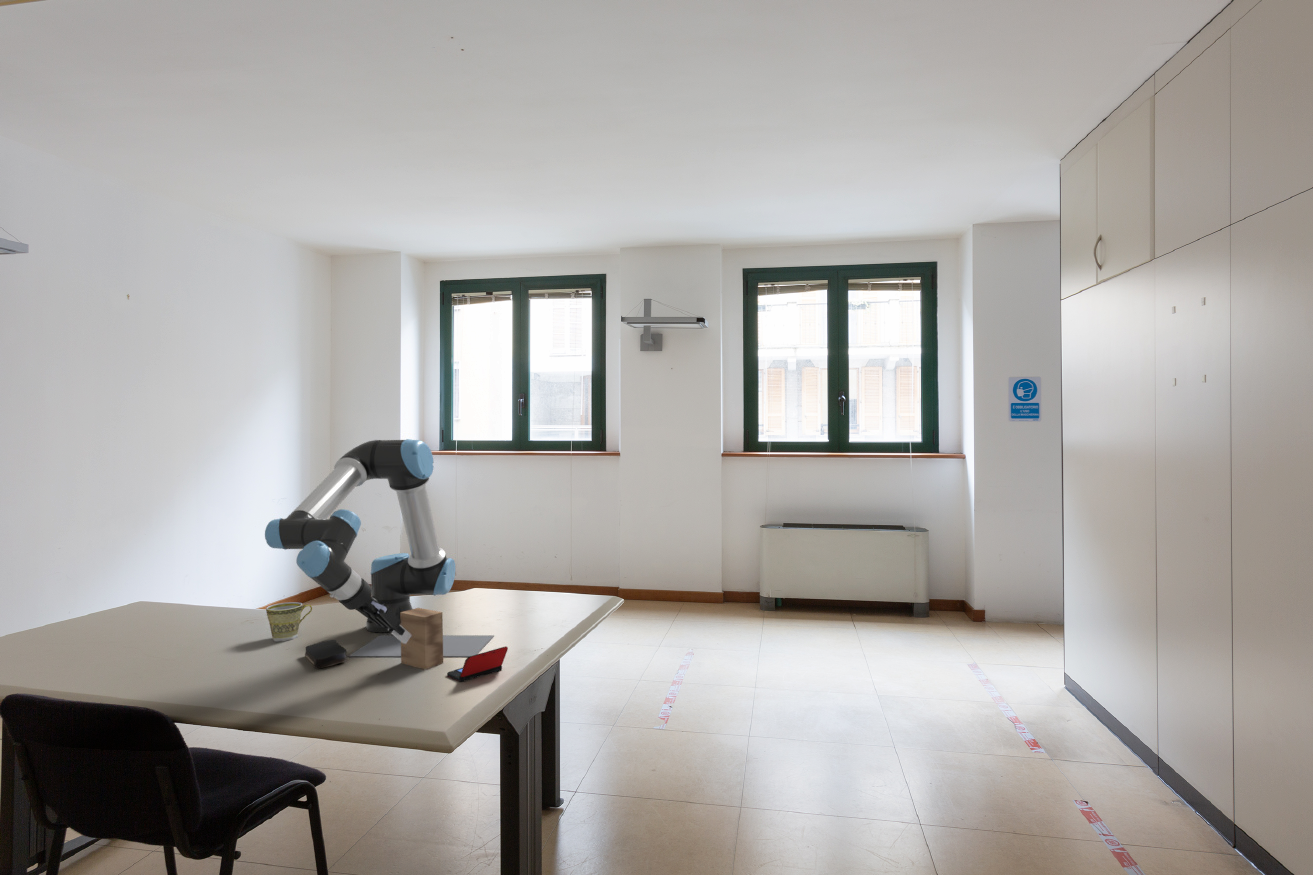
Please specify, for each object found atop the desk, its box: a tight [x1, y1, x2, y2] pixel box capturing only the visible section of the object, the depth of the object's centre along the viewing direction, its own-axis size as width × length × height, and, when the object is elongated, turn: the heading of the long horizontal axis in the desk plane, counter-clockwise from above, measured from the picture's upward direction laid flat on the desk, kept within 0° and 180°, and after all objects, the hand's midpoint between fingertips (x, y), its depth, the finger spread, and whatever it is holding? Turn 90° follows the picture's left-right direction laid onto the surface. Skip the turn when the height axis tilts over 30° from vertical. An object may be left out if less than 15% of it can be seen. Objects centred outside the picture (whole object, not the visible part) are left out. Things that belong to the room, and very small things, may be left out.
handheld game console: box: [446, 646, 509, 683], centre depth 188 cm, size 12×11×7 cm
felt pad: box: [348, 634, 495, 658], centre depth 213 cm, size 20×36×1 cm, turn 87°
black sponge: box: [304, 639, 348, 670], centre depth 202 cm, size 16×8×4 cm, turn 37°
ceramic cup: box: [265, 601, 313, 642], centre depth 224 cm, size 13×10×10 cm
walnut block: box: [400, 607, 444, 670], centre depth 198 cm, size 6×10×14 cm, turn 57°
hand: (407, 638), depth 193 cm, fingers closed
